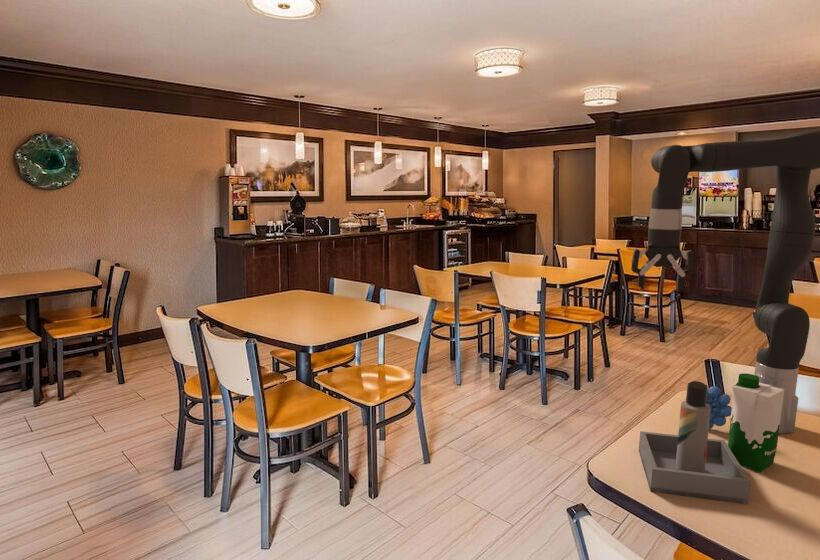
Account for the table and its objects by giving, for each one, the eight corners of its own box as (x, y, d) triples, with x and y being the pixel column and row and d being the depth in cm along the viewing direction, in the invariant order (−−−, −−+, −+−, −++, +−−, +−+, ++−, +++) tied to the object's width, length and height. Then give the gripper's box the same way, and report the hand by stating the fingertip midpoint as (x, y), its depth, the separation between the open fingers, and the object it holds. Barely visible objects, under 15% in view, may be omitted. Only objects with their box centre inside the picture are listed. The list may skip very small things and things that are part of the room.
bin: (722, 460, 126) (724, 440, 125) (747, 504, 109) (750, 481, 108) (638, 450, 131) (640, 431, 130) (650, 491, 113) (652, 469, 113)
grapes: (736, 431, 141) (741, 387, 139) (726, 439, 136) (731, 393, 134) (689, 417, 149) (693, 375, 147) (678, 424, 145) (682, 381, 143)
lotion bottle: (701, 465, 122) (710, 380, 118) (706, 478, 116) (715, 389, 113) (673, 461, 123) (681, 377, 120) (677, 474, 118) (684, 386, 115)
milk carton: (737, 448, 131) (746, 369, 128) (780, 464, 124) (790, 380, 121) (720, 459, 126) (729, 377, 123) (763, 476, 119) (774, 389, 116)
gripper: (636, 227, 135) (632, 291, 138) (699, 228, 132) (693, 294, 135) (632, 225, 143) (628, 286, 145) (692, 226, 139) (687, 288, 142)
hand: (660, 290), depth 140 cm, fingers open, 8 cm apart
